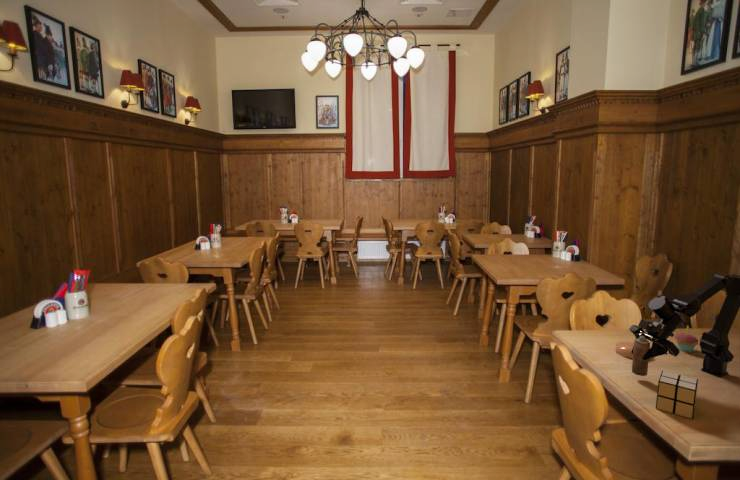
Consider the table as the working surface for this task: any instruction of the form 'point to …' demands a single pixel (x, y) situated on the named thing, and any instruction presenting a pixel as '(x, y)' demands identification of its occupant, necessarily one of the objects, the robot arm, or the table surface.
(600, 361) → the table surface
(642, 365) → the pepper mill
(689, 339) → the cupcake
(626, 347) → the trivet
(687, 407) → the puzzle cube
